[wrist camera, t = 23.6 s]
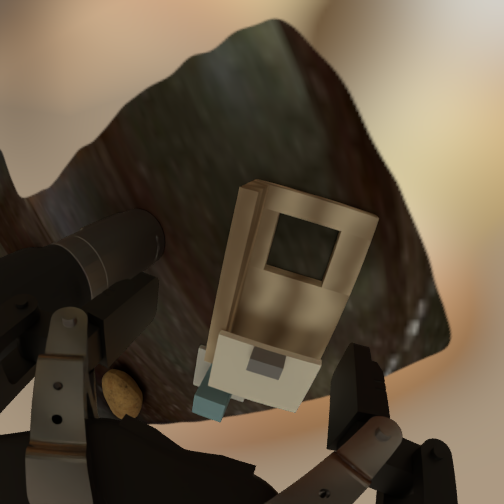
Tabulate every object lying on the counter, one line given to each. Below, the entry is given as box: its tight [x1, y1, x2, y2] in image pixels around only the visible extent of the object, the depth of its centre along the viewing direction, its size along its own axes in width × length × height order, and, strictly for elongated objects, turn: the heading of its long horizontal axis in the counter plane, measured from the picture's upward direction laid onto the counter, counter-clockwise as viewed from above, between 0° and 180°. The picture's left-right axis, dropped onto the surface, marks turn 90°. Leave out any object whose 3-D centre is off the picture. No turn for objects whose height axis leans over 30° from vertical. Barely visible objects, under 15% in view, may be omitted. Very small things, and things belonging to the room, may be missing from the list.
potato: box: [102, 369, 143, 419], centre depth 55 cm, size 10×14×8 cm
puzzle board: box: [204, 179, 379, 364], centre depth 37 cm, size 16×24×8 cm, turn 167°
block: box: [192, 363, 232, 422], centre depth 45 cm, size 5×5×8 cm
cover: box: [208, 330, 322, 413], centre depth 35 cm, size 13×10×3 cm
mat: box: [193, 345, 244, 402], centre depth 49 cm, size 10×10×1 cm
